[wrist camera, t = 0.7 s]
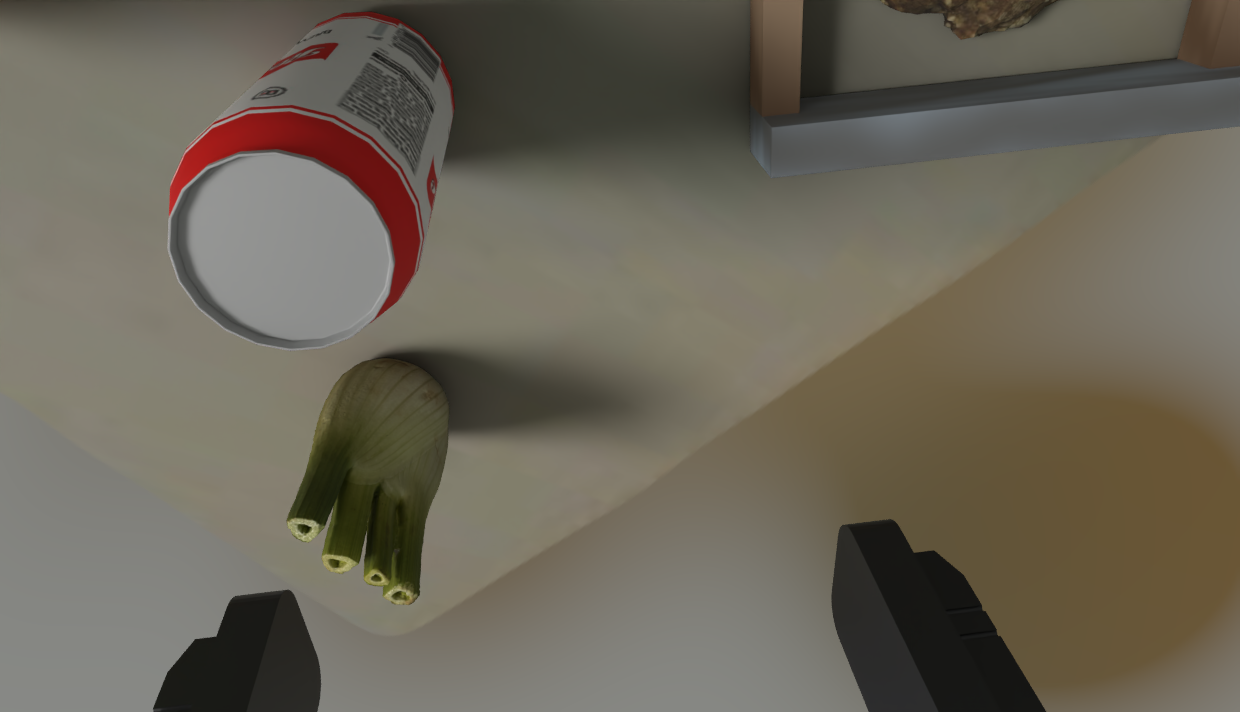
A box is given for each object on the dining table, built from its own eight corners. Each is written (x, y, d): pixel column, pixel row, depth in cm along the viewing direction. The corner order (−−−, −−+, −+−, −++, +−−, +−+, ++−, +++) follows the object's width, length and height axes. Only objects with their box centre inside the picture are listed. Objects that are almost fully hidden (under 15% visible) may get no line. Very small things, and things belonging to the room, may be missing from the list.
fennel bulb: (326, 352, 40) (260, 530, 29) (428, 327, 39) (399, 496, 29) (372, 449, 43) (327, 640, 32) (467, 425, 42) (453, 610, 32)
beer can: (488, 84, 34) (472, 244, 20) (394, 197, 36) (322, 412, 22) (354, -32, 31) (233, 63, 18) (261, 97, 33) (87, 271, 20)
